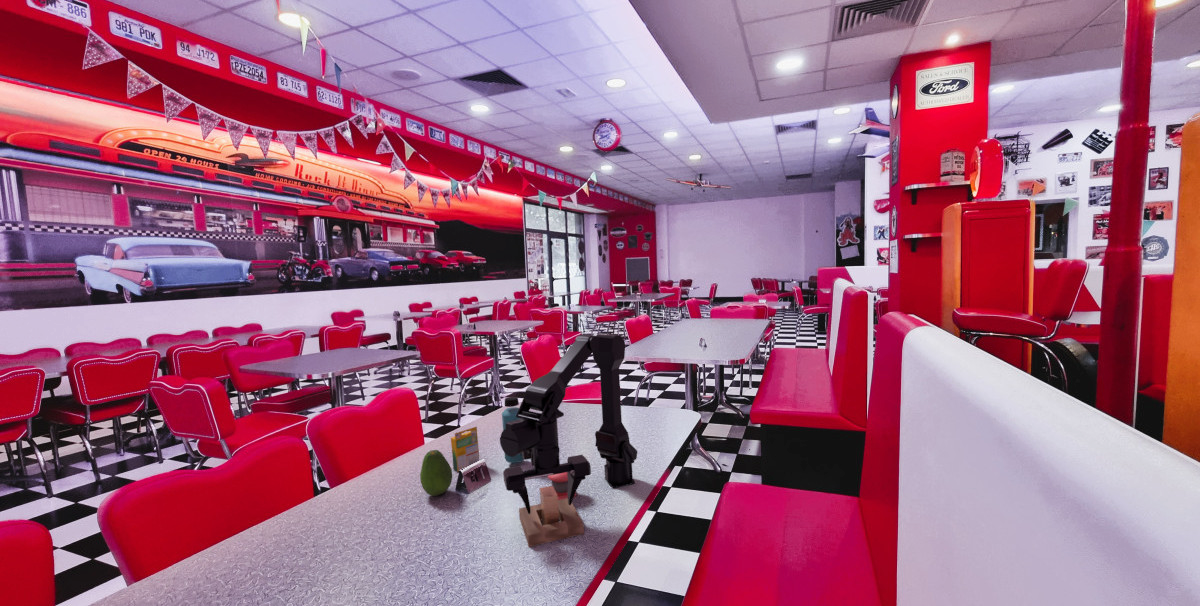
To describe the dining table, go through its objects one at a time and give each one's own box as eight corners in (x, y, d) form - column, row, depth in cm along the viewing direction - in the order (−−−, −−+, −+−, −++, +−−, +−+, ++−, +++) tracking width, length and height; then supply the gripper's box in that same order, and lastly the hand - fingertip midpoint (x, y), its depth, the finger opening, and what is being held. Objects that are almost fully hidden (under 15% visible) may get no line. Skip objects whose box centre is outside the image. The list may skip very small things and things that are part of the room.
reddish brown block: (554, 519, 109) (552, 485, 109) (559, 530, 104) (557, 495, 104) (541, 521, 108) (539, 488, 108) (546, 533, 104) (543, 498, 103)
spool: (572, 486, 125) (570, 464, 124) (579, 498, 118) (578, 475, 118) (546, 491, 123) (544, 469, 122) (552, 504, 116) (550, 480, 116)
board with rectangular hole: (569, 507, 114) (568, 497, 114) (583, 533, 103) (583, 522, 102) (519, 518, 110) (518, 508, 110) (528, 547, 99) (528, 535, 99)
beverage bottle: (522, 468, 138) (518, 401, 136) (501, 467, 139) (496, 400, 138) (530, 459, 144) (526, 394, 143) (509, 458, 146) (505, 394, 144)
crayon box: (475, 461, 145) (472, 424, 144) (480, 464, 143) (477, 426, 142) (452, 469, 140) (449, 431, 139) (457, 472, 137) (454, 433, 136)
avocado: (415, 499, 123) (411, 453, 122) (437, 485, 130) (434, 442, 129) (438, 504, 119) (434, 457, 118) (460, 490, 126) (456, 446, 125)
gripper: (576, 423, 115) (579, 485, 117) (498, 435, 109) (502, 500, 111) (589, 438, 105) (593, 506, 106) (504, 453, 99) (509, 524, 100)
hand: (549, 508), depth 106 cm, fingers open, 9 cm apart
